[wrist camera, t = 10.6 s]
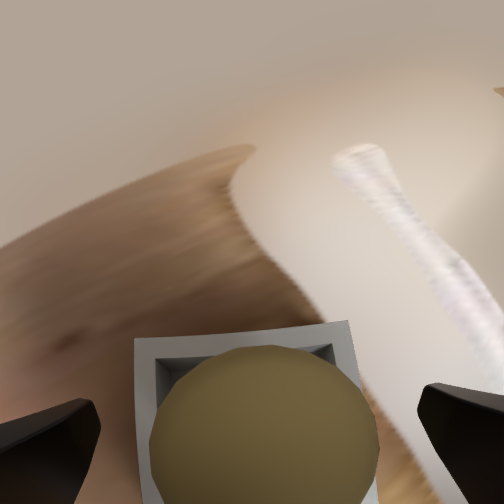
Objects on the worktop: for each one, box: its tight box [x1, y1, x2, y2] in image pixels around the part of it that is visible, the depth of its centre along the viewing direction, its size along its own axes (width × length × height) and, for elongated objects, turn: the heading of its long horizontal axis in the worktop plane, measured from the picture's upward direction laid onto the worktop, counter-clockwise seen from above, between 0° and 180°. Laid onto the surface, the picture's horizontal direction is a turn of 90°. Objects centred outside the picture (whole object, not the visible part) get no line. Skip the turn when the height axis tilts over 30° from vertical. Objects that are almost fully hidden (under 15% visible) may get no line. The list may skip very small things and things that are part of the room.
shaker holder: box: [134, 320, 378, 504], centre depth 13 cm, size 11×11×4 cm
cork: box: [149, 344, 380, 504], centre depth 10 cm, size 6×6×11 cm
